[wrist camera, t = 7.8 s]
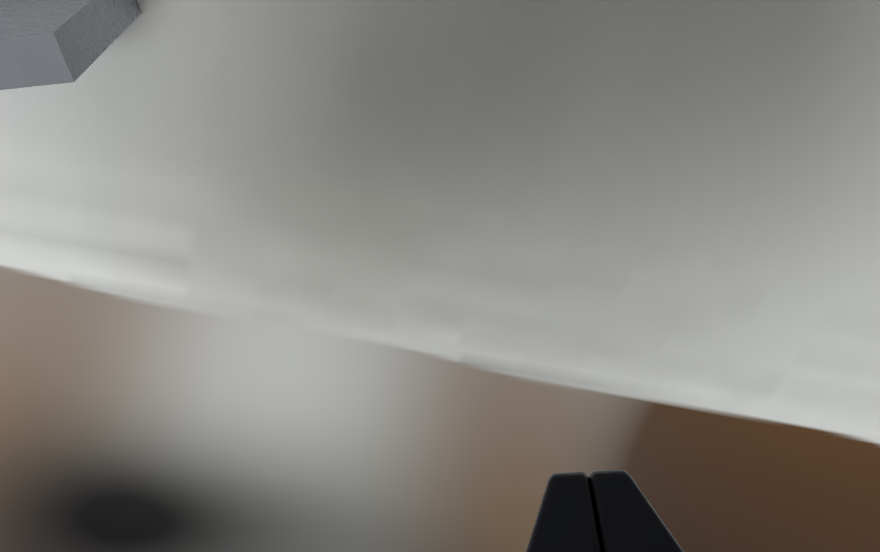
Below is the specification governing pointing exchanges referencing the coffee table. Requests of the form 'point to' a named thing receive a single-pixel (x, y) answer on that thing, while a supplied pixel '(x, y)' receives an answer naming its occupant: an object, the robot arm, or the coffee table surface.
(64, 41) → the grey u-shaped bracket
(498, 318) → the coffee table surface
